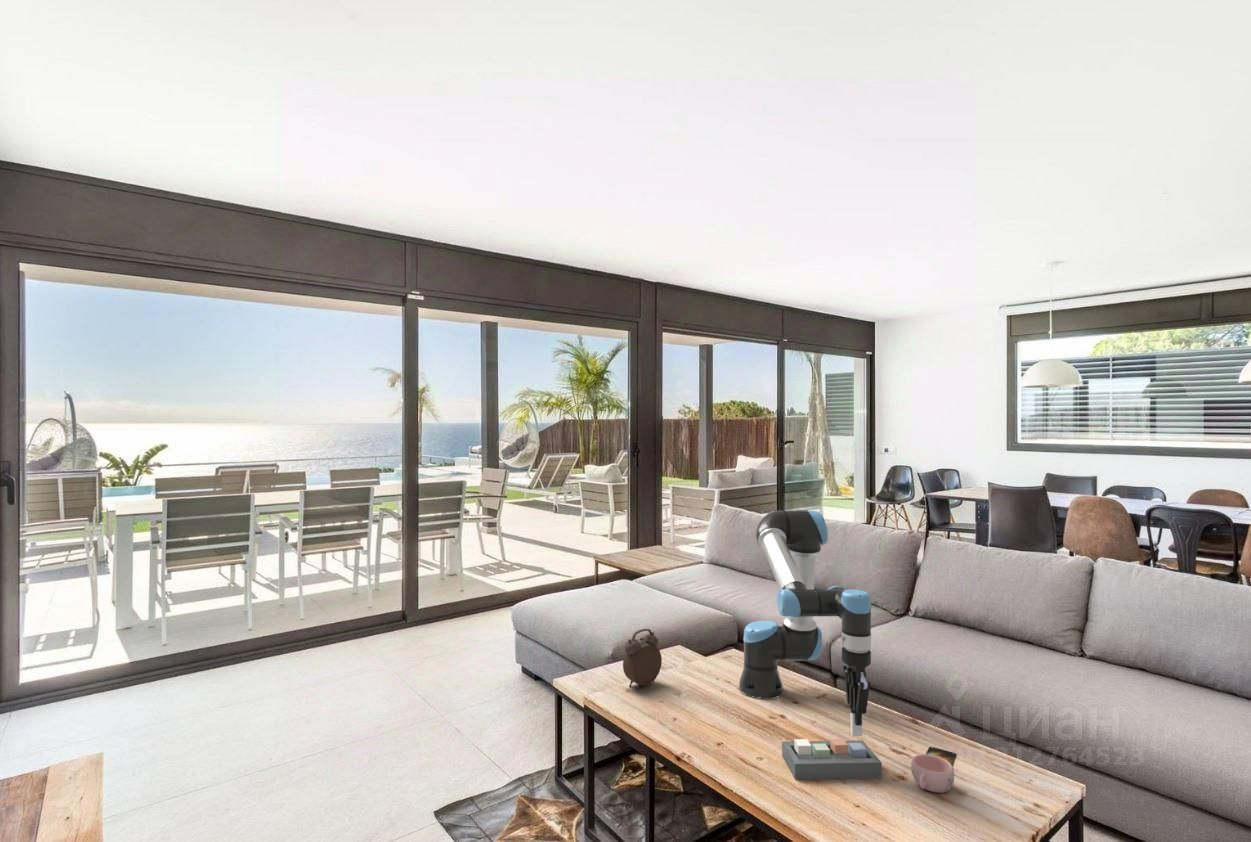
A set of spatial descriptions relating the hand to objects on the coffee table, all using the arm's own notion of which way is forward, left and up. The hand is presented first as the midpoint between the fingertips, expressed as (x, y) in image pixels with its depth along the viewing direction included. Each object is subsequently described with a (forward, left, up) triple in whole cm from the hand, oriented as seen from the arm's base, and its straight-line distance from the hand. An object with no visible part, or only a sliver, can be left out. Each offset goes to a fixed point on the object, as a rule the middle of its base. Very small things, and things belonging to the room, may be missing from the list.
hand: (856, 734), depth 171 cm
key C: (+1, -10, -5) cm, 11 cm away
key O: (+1, -15, -4) cm, 16 cm away
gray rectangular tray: (+1, -7, -8) cm, 11 cm away
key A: (+1, 0, -5) cm, 5 cm away
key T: (+1, -5, -4) cm, 6 cm away
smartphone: (-1, +24, -9) cm, 25 cm away
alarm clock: (-57, -55, -8) cm, 80 cm away
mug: (+12, +15, -9) cm, 20 cm away
